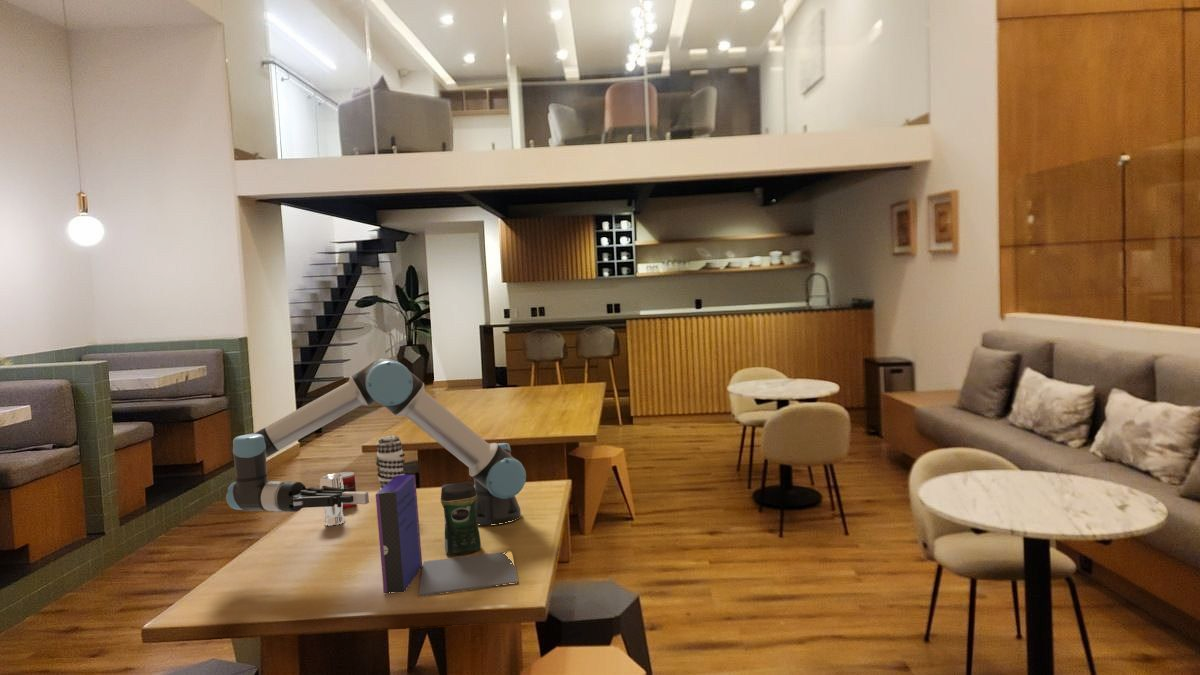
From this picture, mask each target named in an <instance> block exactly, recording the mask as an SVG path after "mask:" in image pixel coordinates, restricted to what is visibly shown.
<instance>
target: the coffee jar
mask: <svg viewBox="0 0 1200 675" xmlns="http://www.w3.org/2000/svg"><path fill="white" fill-rule="evenodd" d="M440 492H441V494H440V503H441V506H442V508H443V513H444V550H445V553H446V554H449V555H450V556H454V555H455V556H456V554H458V555H464V553H465V554H469V553H473V552H475V553H476V552H477V551H478V550H479V549H481V546H482V541H481V537H480V536H481V535H480V531H479V525H477V519H476V512H475V502H476V497H477V496H476V491H475V485H474V481H471V480H470V481H469V480H468V481H460V482H454V483H452V482H451V483H446V484H445V483H444V484H443V485H442V486H441V491H440Z"/></svg>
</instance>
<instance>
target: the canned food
mask: <svg viewBox="0 0 1200 675" xmlns="http://www.w3.org/2000/svg"><path fill="white" fill-rule="evenodd" d="M335 474H341V475H342V480H343V487H344V488H346V489H349V492H357V489H356V477H355V472H352V471H343V472H336V473H335ZM353 506H354V507H356V506H357V504H343V510H346V509H345V508H347V509H351V508H354V507H353ZM350 507H351V508H350Z"/></svg>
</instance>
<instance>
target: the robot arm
mask: <svg viewBox="0 0 1200 675" xmlns="http://www.w3.org/2000/svg"><path fill="white" fill-rule="evenodd" d="M374 402H376V403H377V404H380V405H381V406H383V407H384V408H385V409H387V411H389V412H391V413H392V414H393V415H394V416H397V417H398V416H405V418H407V419H408V420H409V421H410V422H412V423H413V424H415V425H416V426H417V427H419V429H421V430H422V431H423V432H424V433H425V434H427V435H428V436H429V437H431V438H432V439H433V440H434V441H436V442H437V443H438V444H439V445H440V446H441V447H443V448H444V449H445V450H446V451H448V452H449V453H450V454H452V455H453V456H454V457H455V458H457V459H458V460H459V461H460V462H461V463H463V464H464V465H465V466H466V467H468V473H469V474H468V475H469V476H470V477H472V478H473V484H474V487H475V491H476V496H477V497H476V502H475V512H476V519H477V524H480V525H479V526H482V525H491V524H499V523H505V522H508V521H512V520H515V519H517V518H519V517H520V515H521V507H520V505H519V501H518V500H517V497H516V496H517V495H518V494H519V493H520V492H522V490H523V488H524V486H525V484H526V479H527V472H526V469H525V467H524V465H523V464H522V462H521V461H520V460H518V459H517V458H515V457H513V455H512V454H511V453H512V449H511V445H510V444H509V442H508V443H507V442H501V443H499V442H498V443H497V442H491V443H488V442H487V441H486V440H485V439H484V438H482V437H481V436H480V435H479V434H477V433H476V432H475V430H473V429H471V427H469V426H467V424H465V423H464V422H463V421H462V420H461V419H459V418H458V417H457V416H456V415H454V414H453V413H452V412H451V411H450V410H448V409H447V408H445V406H443V405H442V404H441V403H440V402H438V400H436V399H435V398H434V397H432V395H431V394H429V393H428V392H427V391H426V389H425V382H423V381H422V380H421V379H420V378H418V377H417V376H416V375H415V374H414V373H412V372H411V371H410V369H408V367H407V366H405V365H404V364H403V363H401V362H399V361H397V360H395V359H393V358H390V357H383V358H379V359H375V360H374V361H372V362H371V363H369V364H368V365H367V366H366V367H364V368H362V369H361V370H359V371H357V372H356V373H355V374H353V375H350V376H349V379H348V381H347V382H345V383H343V384H342V385H339V386H338V387H336V388H334V389H332V390H330V391H329V392H327V393H325V394H323V395H322V396H320V397H318V398H316V399H314V400H312V401H310V402H309V403H307V404H305V405H303V406H302V407H299V408H297V409H296V410H294V411H292V412H291V413H289V414H287V415H285V416H283V417H282V418H279V419H278V420H275V421H274V422H272V423H270V424H269V425H266V426H265V427H263V428H261V429H259V430H258V431H256V432H253V433H247V434H243V435H238V436H235V437H234V438H233V440H232V454H233V461H234V462H233V463H234V474H235V481H233V482H231V484H230V485H229V486H228V487H227V493H226V494H225V497H226V498H225V500H226V503H227V504H228V506H229V507H230V508H231V509H233V510H236V511H237V510H238V511H245V512H250V511H251V512H254V511H255V512H256V511H257V512H258V511H259V512H260V511H261V512H262V511H263V512H264V511H265V512H274V514H278V513H279V512H288V513H289V512H290V513H293V512H294V513H296V512H300V511H301V510H302V509H306V508H324V507H333V506H335V504H336V505H337V507H341V503H342V504H356V505H367V504H369V501H370V499H369V491H356V492H349V489H346V488H344V489H342V488H333V487H328V486H322V488H321V489H320V488H315V487H312V486H311V487H310V486H309V487H306V486H305V485H304V483H302V482H301V481H286V480H283V481H282V480H278V481H277V480H275V481H274V480H272V481H271V480H270V481H269V480H268V467H267V466H268V465H267V458H269V457H270V456H273V455H274V454H276V453H277V452H279V451H280V450H282V449H284V448H287V447H288V446H290V445H292V444H293V443H296V442H297V441H299V440H301V439H302V438H304V437H306V436H308V435H309V434H312V433H314V432H315V431H317V430H318V429H320V428H322V427H324V426H326V425H327V424H330V423H331V422H333V421H335V420H337V419H338V418H340V417H342V416H344V415H346V414H347V413H349V412H351V411H353V410H355V409H357V408H359V407H360V406H370V404H373V403H374ZM520 518H521V517H520ZM520 518H519V519H520ZM517 520H518V519H517Z"/></svg>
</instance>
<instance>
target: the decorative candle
mask: <svg viewBox="0 0 1200 675" xmlns="http://www.w3.org/2000/svg"><path fill="white" fill-rule="evenodd" d="M402 441H403V440H402V439H400V437H399V436H397V435H386V436H383V437H380V438H379V439H378V441H377V442H376V443H375V444H376V445H377V447H376V448H377V449H376V450H377V452H376V453H377V456H376V457H375V461H376V463H375V465H376V466H377V468H376V471H377V476H378V481H379V483H380V488H379V491H380V490H381V489H382V488H383V487H384V486H386V485H387V484H388V483H389V482H390V481H391V480H392V479H393V478H395V477H396V476H399V475H406V474H405V473H406V471H405V470H404V468H405V467H406V464H404V463H405V462H406V460H405V459H403V458H404V457H405V456H406V454H405V453H403V449H402Z"/></svg>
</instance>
